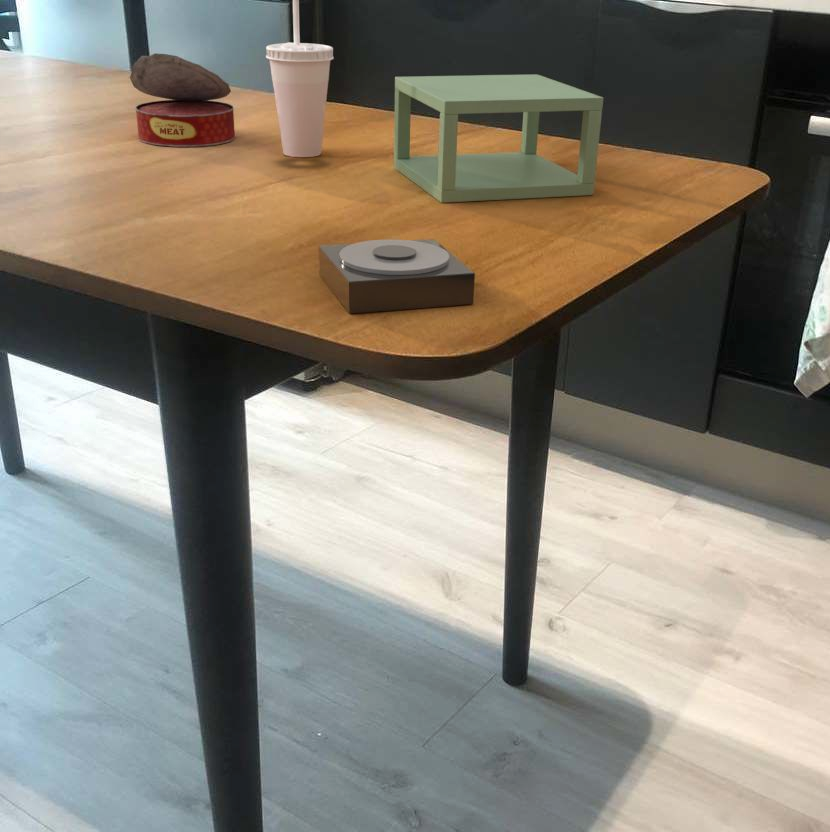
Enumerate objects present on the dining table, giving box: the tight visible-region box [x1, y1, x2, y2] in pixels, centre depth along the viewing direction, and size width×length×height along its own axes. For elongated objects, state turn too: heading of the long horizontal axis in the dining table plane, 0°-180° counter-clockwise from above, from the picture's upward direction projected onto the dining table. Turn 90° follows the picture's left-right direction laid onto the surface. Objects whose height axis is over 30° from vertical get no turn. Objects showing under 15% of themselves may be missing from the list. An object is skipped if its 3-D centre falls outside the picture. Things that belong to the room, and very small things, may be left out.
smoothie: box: [265, 0, 335, 158], centre depth 103 cm, size 6×6×14 cm
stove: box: [318, 238, 476, 315], centre depth 69 cm, size 8×8×2 cm
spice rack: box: [393, 73, 604, 204], centre depth 96 cm, size 14×14×8 cm
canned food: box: [129, 53, 236, 148], centre depth 111 cm, size 11×10×10 cm
